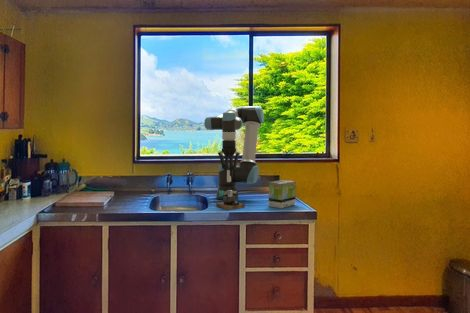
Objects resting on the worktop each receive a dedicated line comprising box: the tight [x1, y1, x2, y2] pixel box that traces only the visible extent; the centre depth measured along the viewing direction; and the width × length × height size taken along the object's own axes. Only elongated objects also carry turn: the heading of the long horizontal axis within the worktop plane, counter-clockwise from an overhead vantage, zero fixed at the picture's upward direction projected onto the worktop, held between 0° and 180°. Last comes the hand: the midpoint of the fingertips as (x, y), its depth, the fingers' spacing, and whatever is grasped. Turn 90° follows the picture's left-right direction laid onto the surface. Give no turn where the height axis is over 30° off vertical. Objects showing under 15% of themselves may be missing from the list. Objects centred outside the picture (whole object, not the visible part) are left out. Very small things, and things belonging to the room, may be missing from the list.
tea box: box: [268, 179, 297, 209], centre depth 210 cm, size 15×10×15 cm
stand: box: [215, 200, 246, 211], centre depth 207 cm, size 12×12×4 cm
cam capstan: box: [219, 190, 236, 205], centre depth 204 cm, size 12×7×8 cm, turn 142°
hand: (229, 181), depth 198 cm, fingers closed
